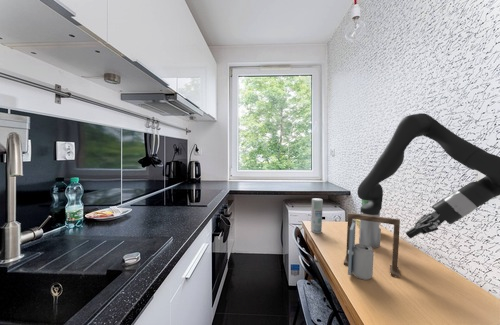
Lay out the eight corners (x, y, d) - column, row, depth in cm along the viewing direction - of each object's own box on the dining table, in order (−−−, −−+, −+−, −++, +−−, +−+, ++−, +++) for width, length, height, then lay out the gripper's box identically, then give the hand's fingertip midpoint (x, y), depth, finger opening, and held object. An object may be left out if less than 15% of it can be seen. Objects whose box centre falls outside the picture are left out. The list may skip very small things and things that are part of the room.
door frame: (343, 264, 102) (345, 214, 101) (345, 257, 109) (347, 210, 108) (399, 277, 92) (402, 222, 91) (397, 268, 99) (400, 217, 98)
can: (374, 282, 88) (376, 251, 88) (353, 279, 90) (354, 248, 90) (369, 272, 95) (371, 243, 95) (350, 269, 97) (351, 241, 97)
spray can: (313, 233, 140) (314, 200, 139) (308, 229, 147) (310, 198, 146) (323, 232, 142) (324, 200, 141) (318, 229, 148) (319, 198, 147)
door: (350, 259, 104) (352, 220, 103) (355, 261, 103) (356, 220, 102) (346, 274, 91) (348, 229, 91) (352, 275, 90) (354, 230, 90)
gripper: (439, 195, 85) (398, 222, 92) (449, 202, 74) (401, 232, 80) (457, 211, 83) (413, 238, 90) (470, 221, 72) (419, 251, 78)
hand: (407, 235), depth 85 cm, fingers closed
